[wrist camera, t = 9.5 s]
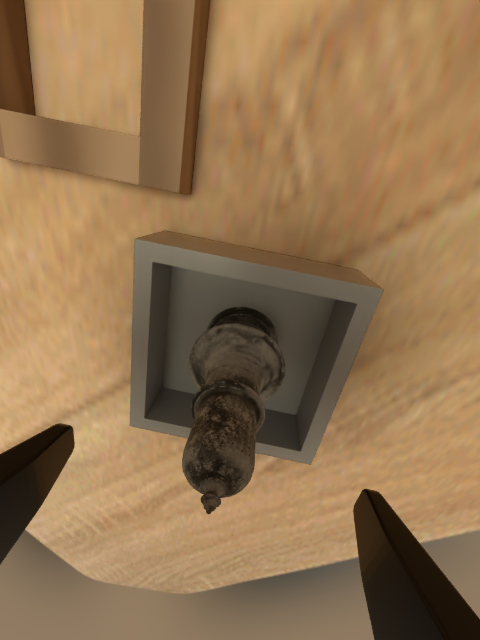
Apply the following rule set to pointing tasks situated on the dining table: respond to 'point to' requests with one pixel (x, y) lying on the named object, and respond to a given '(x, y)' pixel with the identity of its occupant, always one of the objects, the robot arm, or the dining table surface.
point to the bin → (252, 292)
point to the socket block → (156, 104)
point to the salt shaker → (230, 400)
